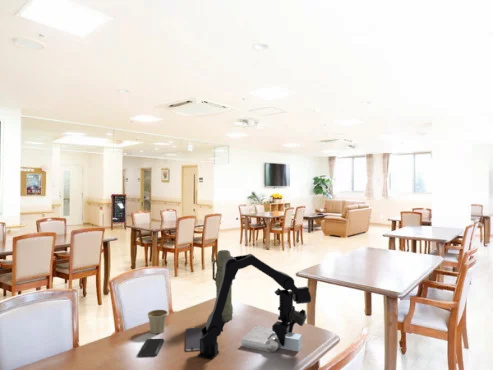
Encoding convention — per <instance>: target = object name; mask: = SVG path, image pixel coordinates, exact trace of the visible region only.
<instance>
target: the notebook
mask: <svg viewBox="0 0 493 370" xmlns="http://www.w3.org/2000/svg"><path fill="white" fill-rule="evenodd" d="M203 327H204V326H203ZM203 327H201V326H200V327H187V328H185V350H186V352H193V351H200V339H201V338H202V336H201V332H200V331H201V329H202V328H203Z"/></svg>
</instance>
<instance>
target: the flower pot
mask: <svg viewBox="0 0 493 370" xmlns="http://www.w3.org/2000/svg"><path fill="white" fill-rule="evenodd" d="M168 313H169V312H168V311H167V310H166V309H154V310H151V311H149V312H147V314H146V315H147V318H148V321H149V328H150V329H149V330H150V333H151V334H155V335H156V334H162V333H164V331H165V327H166V326H165V325H166V319H167V315H168Z"/></svg>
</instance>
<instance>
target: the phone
mask: <svg viewBox="0 0 493 370" xmlns="http://www.w3.org/2000/svg"><path fill="white" fill-rule="evenodd" d="M164 342H165V339H164V338H148V339H146V340H145V341H144V343H143V345H142V346H141V348H140V350H139V351H138V353H137V357H138V358H149V357H150V358H152V357H154V358H155V357H158V355H159V353H160V350H161V349H162V346H163V344H164Z"/></svg>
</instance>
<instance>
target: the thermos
mask: <svg viewBox="0 0 493 370" xmlns="http://www.w3.org/2000/svg"><path fill="white" fill-rule="evenodd" d="M228 256H232V255H231V251H229V250H228V249H227V250H226V249H221V250H219V251H217V255H216V260H213V262H212V280H213V281H214V282H215V286H216V287H215V288H216V292H215V293H216V294H215V295H216V297H215V299H216V298H217V294H218V291H219V287H220V284H221V280H222V269H223V261H224V259H225V258H226V257H228ZM215 264H216V265H215ZM215 266H216V267H215ZM215 270H216V271H215ZM234 280H236V276H235V277H234V279H233V280H232V282H231V286H230V289H229V293H228V296H227V300H226V304H225V307H224V311H223V314H222V317H224V320H225V323H226V322H229V321H232V320H233V313H234V312H233V311H234V309H233V304H232V302H233V301H232V296H233V295H232V294H233V292H232V290H233V289H232V286H233V281H234Z"/></svg>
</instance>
